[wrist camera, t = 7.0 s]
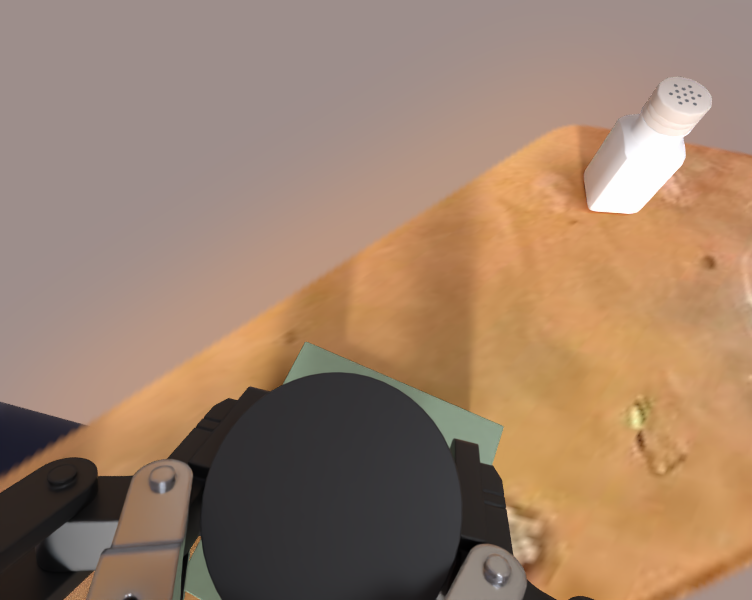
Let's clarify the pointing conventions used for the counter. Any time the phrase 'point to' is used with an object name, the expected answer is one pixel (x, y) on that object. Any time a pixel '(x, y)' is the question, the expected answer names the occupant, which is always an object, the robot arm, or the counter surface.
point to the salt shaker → (645, 148)
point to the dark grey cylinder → (332, 496)
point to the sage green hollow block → (441, 412)
